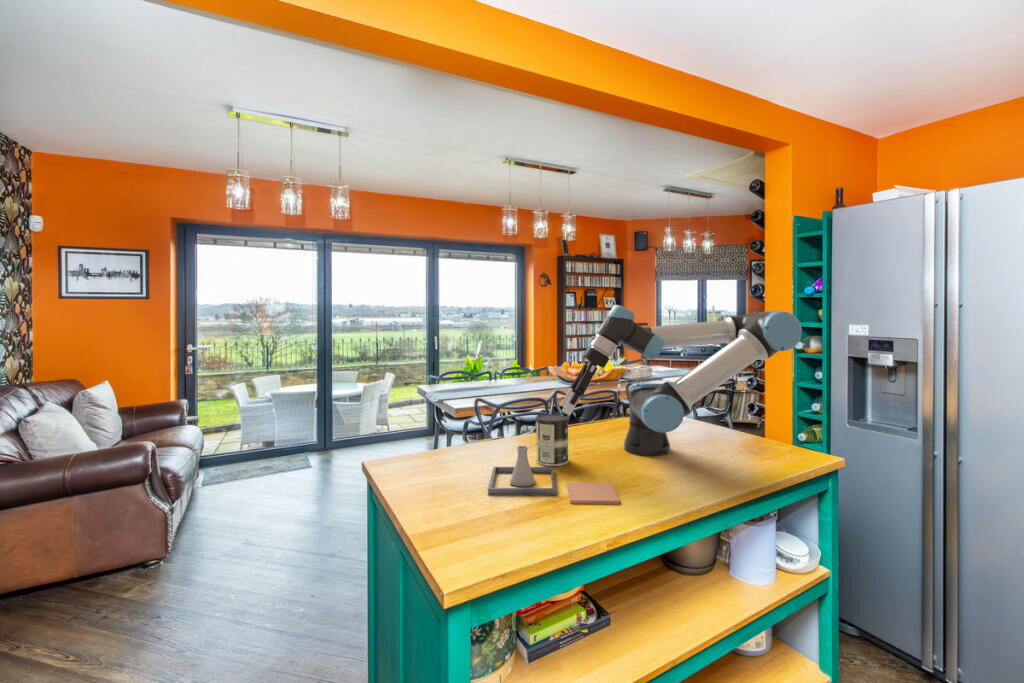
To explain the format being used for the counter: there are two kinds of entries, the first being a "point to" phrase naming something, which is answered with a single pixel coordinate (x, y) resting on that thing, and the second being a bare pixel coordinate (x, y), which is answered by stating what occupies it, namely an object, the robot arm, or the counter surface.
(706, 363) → the robot arm
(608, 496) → the terracotta tile
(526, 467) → the flask
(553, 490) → the steel frame
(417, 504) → the counter surface
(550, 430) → the coffee can
